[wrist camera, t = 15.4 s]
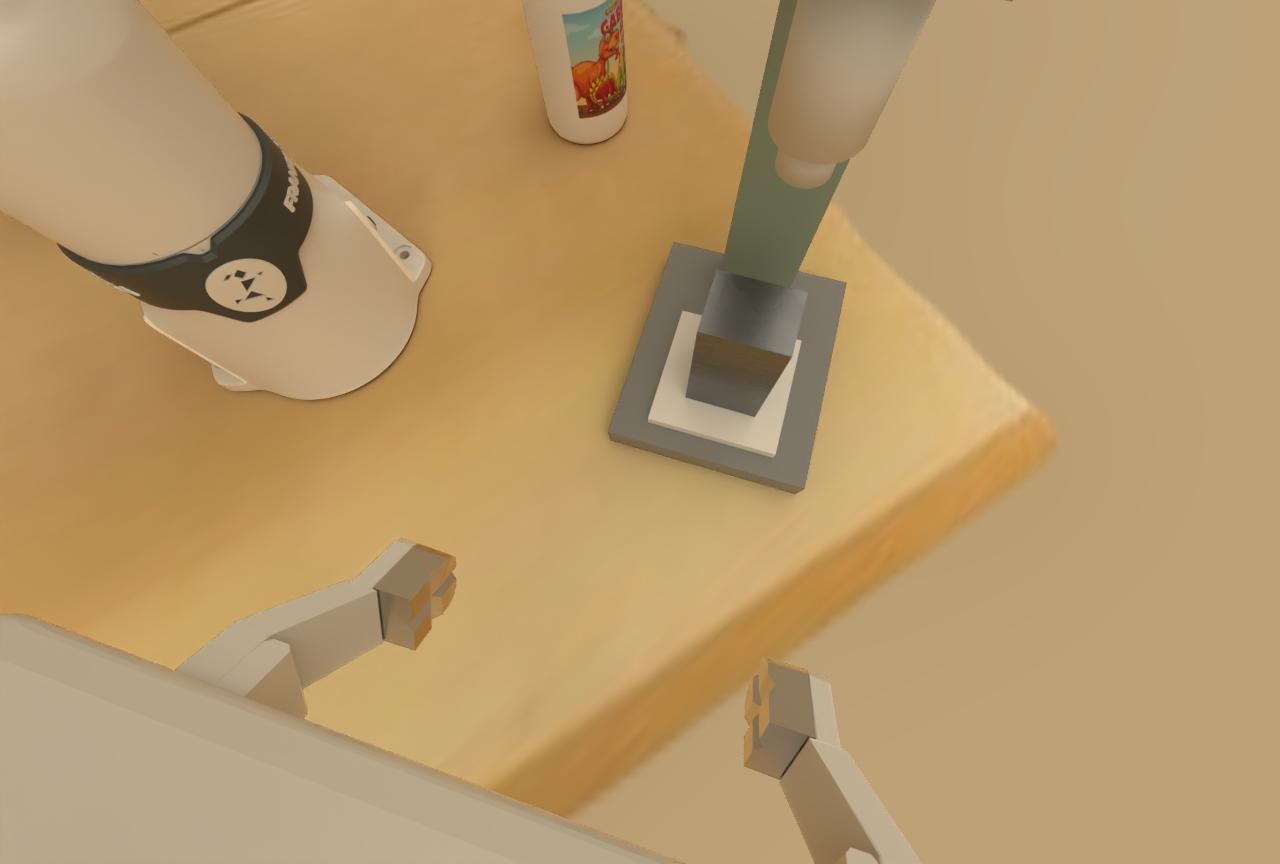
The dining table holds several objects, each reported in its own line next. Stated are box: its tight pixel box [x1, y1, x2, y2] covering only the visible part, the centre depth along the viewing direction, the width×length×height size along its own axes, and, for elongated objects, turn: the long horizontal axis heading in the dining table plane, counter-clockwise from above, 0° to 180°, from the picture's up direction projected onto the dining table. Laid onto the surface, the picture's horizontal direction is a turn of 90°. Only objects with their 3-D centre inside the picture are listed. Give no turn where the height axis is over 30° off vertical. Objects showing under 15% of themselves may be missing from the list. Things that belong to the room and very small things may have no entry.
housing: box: [686, 270, 808, 417], centre depth 29 cm, size 5×4×9 cm
